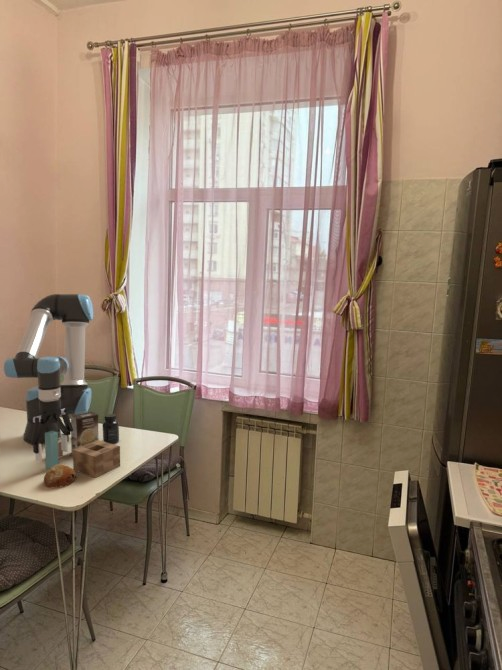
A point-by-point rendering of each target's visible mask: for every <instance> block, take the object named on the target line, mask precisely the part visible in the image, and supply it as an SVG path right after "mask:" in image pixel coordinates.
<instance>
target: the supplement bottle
mask: <svg viewBox="0 0 502 670" xmlns="http://www.w3.org/2000/svg"><path fill="white" fill-rule="evenodd" d="M102 441H104V442H107V443H111V444H114V445H116V444H117V443H118V442H120V424H119V421H118V420H117V414H114V413H107V414H105V415H104V421H103V423H102Z"/></svg>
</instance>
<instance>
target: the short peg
mask: <svg viewBox="0 0 502 670" xmlns="http://www.w3.org/2000/svg"><path fill="white" fill-rule="evenodd" d="M58 455H59V458H62V457H63V456H64V451H61V440H58Z"/></svg>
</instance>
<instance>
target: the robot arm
mask: <svg viewBox="0 0 502 670" xmlns="http://www.w3.org/2000/svg"><path fill="white" fill-rule="evenodd" d="M29 319H30V320H29V322H28V325H27V327H26V329H25V332H24V333H23V334H24V335H23V337H22V339H21V341H20V344H19V346H18V349H17V351H16V354H15V356H14V357H11V358H7V359H5V361H4V364H3V372H4V375H5V377H6V378H9V379H10V378H12V379H13V378H14V379H25V378H26V379H27V378H28V379H29V378H30V379H31V378H34V379H35V378H36V379H37V385H38V386H33V387H32V388H30V389H28V390H26V395H25V397H26V398H25V403H26V407H25V408H26V426H25V428H24V433H23V435H22V436H23V441H24V442H25V443H27V444H28V445H31V446H32V448H33V449H32V450H33V453H34V455H35V461H36V462H38V463H41V462H43V455H42V454H43V452H42V449H43V448H42V444H45V433H46V432H49V431H55V432H58V439H59V438H60V441H61V451H63V453H64V452H65V453H67V452H68V450H69V449H68V443H69V441H70V440H69V439H70V438H69V436H71V432H72V431H73V428H72V425H71V418H70V416H71V415H74V414H80V413H86V412H89V410H90V406H91V402H92V395H93V394H92V391H93V390H92V388H90V387H88V386H89V385H88V382H86V380H85V370H86V369H85V363H86V362H85V361H86V328H87V327H88V326H89V325H90V321H92V320H93V319H94V306H93V302H92V299H91V298H90V296H89V295H88V294H79V293H77V294H74V293H73V294H70V293H67V294H61V293H60V294H59V293H54V294H50V295H49V294H48V295H46V296H45V297H43V298H41V300H39V301H37V302H36V303H35V304H34V305H33V307H32V308H31V311H30V313H29ZM54 321H61V325H63V327H64V329H65V330H64V357H63V356H59V355H58V356H44V357H43V356H42V357H38V356H39V352H40V351H41V350H40V349H41V347H42V345H43V341H44V339H45V336H46V334H47V331H48V328H49V326H51V324H52V323H53V322H54ZM62 376H63V381H62V382H61V377H62ZM69 415H70V416H69ZM60 416H61V417H60ZM61 433H62V434H61Z"/></svg>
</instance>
